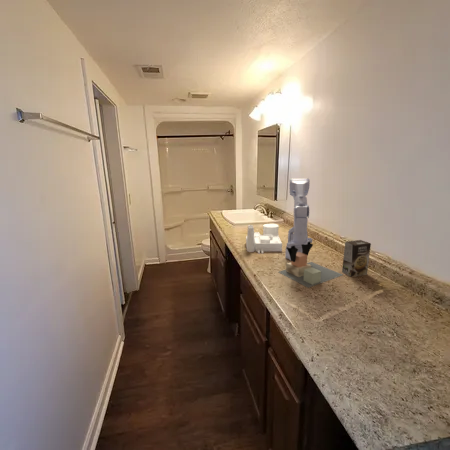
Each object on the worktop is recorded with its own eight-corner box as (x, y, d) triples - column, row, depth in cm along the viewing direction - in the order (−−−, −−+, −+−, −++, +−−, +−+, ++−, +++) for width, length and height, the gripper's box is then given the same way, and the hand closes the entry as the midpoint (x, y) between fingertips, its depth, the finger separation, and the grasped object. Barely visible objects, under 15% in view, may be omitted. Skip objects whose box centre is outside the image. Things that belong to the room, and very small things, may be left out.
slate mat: (277, 273, 127) (277, 271, 127) (311, 263, 139) (311, 261, 138) (308, 289, 111) (308, 287, 111) (343, 276, 123) (343, 274, 122)
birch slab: (286, 271, 128) (286, 263, 127) (298, 267, 132) (298, 259, 131) (298, 277, 121) (298, 269, 120) (310, 273, 125) (311, 265, 124)
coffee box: (351, 279, 120) (354, 245, 116) (341, 273, 126) (344, 241, 122) (367, 276, 122) (371, 243, 118) (357, 271, 128) (360, 239, 125)
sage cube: (303, 280, 118) (304, 269, 117) (311, 277, 120) (312, 267, 119) (312, 284, 114) (313, 273, 112) (320, 281, 116) (321, 271, 115)
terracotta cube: (291, 263, 126) (291, 253, 125) (298, 261, 129) (299, 251, 127) (298, 267, 122) (299, 257, 121) (306, 264, 124) (307, 254, 123)
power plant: (288, 254, 154) (289, 229, 150) (247, 254, 155) (247, 230, 151) (278, 236, 188) (279, 216, 184) (245, 236, 189) (245, 216, 185)
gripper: (295, 236, 115) (293, 265, 118) (318, 231, 122) (316, 258, 125) (283, 232, 120) (282, 260, 124) (306, 227, 128) (304, 254, 131)
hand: (298, 259), depth 125 cm, fingers open, 7 cm apart
